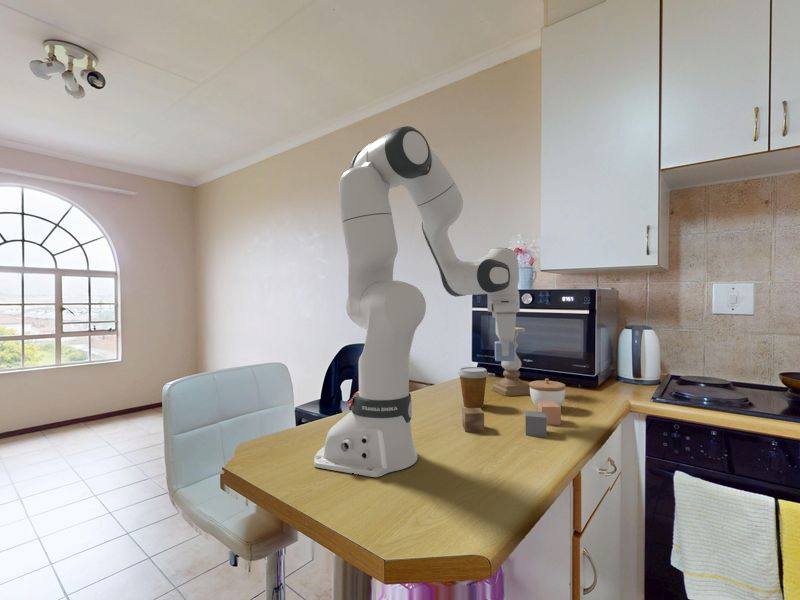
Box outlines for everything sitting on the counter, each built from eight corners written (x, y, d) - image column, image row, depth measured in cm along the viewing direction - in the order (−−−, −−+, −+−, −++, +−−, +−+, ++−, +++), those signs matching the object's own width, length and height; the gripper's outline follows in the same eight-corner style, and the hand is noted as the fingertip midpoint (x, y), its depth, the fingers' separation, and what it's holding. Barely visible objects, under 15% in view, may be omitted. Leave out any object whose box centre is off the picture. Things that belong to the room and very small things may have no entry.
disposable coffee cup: (478, 400, 133) (478, 365, 133) (494, 408, 124) (493, 370, 124) (453, 403, 130) (453, 367, 130) (467, 411, 121) (466, 372, 121)
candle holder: (505, 396, 138) (504, 329, 139) (491, 389, 149) (490, 327, 149) (533, 394, 141) (531, 328, 141) (517, 387, 152) (516, 326, 152)
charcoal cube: (525, 435, 99) (525, 416, 99) (525, 429, 104) (525, 410, 104) (546, 437, 97) (546, 417, 97) (545, 431, 102) (545, 412, 102)
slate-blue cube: (495, 361, 109) (495, 343, 109) (494, 358, 114) (494, 341, 114) (514, 361, 108) (514, 343, 108) (512, 358, 113) (512, 341, 113)
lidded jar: (572, 409, 121) (572, 379, 121) (552, 415, 115) (551, 383, 115) (543, 402, 130) (542, 374, 130) (522, 407, 124) (522, 378, 124)
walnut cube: (465, 432, 102) (464, 413, 102) (462, 426, 107) (462, 408, 107) (484, 432, 102) (484, 413, 102) (480, 426, 107) (480, 407, 107)
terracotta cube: (542, 424, 107) (541, 406, 107) (537, 419, 112) (537, 402, 112) (561, 425, 107) (560, 406, 107) (555, 419, 112) (555, 402, 112)
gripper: (490, 305, 122) (491, 349, 121) (493, 306, 101) (494, 359, 101) (511, 305, 120) (512, 349, 120) (518, 306, 100) (519, 359, 100)
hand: (504, 354), depth 111 cm, fingers closed on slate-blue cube, 5 cm apart
